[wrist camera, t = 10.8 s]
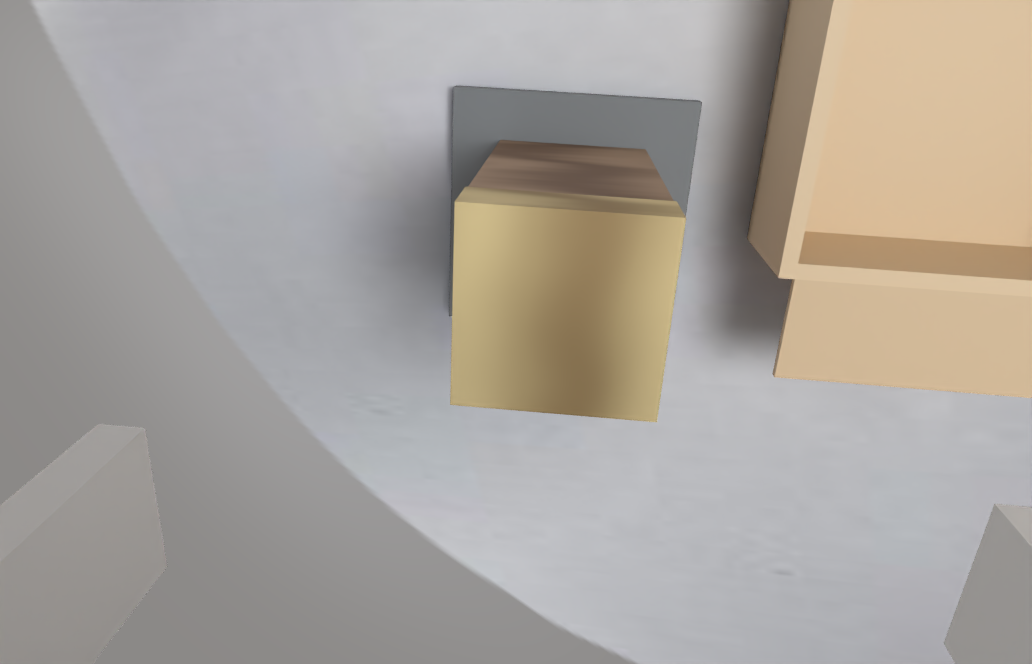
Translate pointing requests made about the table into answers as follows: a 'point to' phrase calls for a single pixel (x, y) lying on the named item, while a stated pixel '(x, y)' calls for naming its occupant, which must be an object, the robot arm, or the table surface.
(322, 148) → the table surface
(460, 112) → the panel
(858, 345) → the carton
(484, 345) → the block
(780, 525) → the table surface
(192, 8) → the table surface
